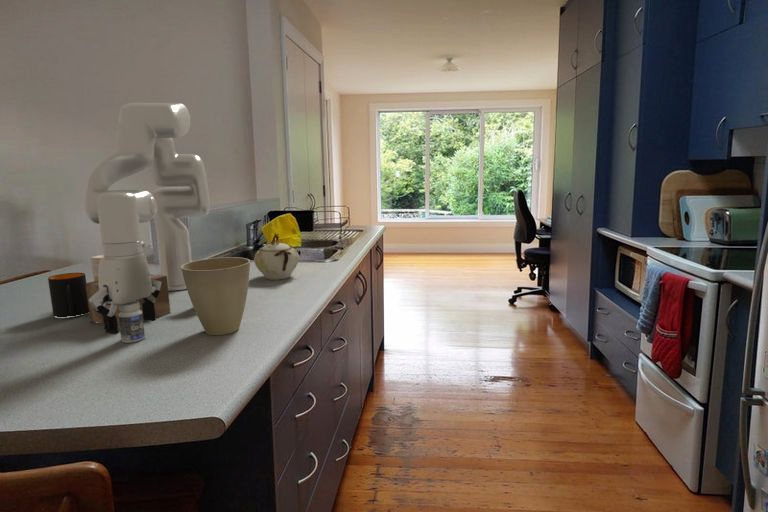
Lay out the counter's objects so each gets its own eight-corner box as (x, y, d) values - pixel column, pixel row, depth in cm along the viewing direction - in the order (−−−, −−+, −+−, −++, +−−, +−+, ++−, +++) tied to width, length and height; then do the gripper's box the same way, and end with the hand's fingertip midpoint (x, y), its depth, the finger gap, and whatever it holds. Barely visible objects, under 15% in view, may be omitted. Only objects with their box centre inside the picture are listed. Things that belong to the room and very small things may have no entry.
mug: (53, 324, 124) (47, 283, 122) (53, 313, 134) (48, 275, 132) (91, 318, 128) (86, 278, 126) (89, 307, 138) (84, 271, 136)
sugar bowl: (309, 279, 167) (307, 234, 164) (266, 285, 159) (262, 239, 156) (288, 269, 183) (285, 229, 181) (248, 275, 176) (244, 232, 173)
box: (90, 322, 124) (85, 283, 123) (135, 308, 136) (130, 272, 134) (127, 327, 119) (122, 287, 117) (170, 312, 131) (166, 275, 129)
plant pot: (202, 321, 123) (196, 257, 120) (262, 320, 123) (257, 256, 120) (176, 342, 108) (168, 270, 106) (243, 341, 108) (238, 269, 105)
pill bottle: (135, 343, 108) (131, 306, 107) (116, 342, 109) (111, 305, 107) (149, 336, 113) (145, 300, 111) (131, 335, 114) (127, 299, 112)
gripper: (143, 243, 116) (151, 314, 119) (72, 255, 101) (83, 336, 104) (167, 244, 113) (174, 317, 116) (97, 257, 98) (108, 340, 101)
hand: (131, 326), depth 110 cm, fingers open, 9 cm apart
